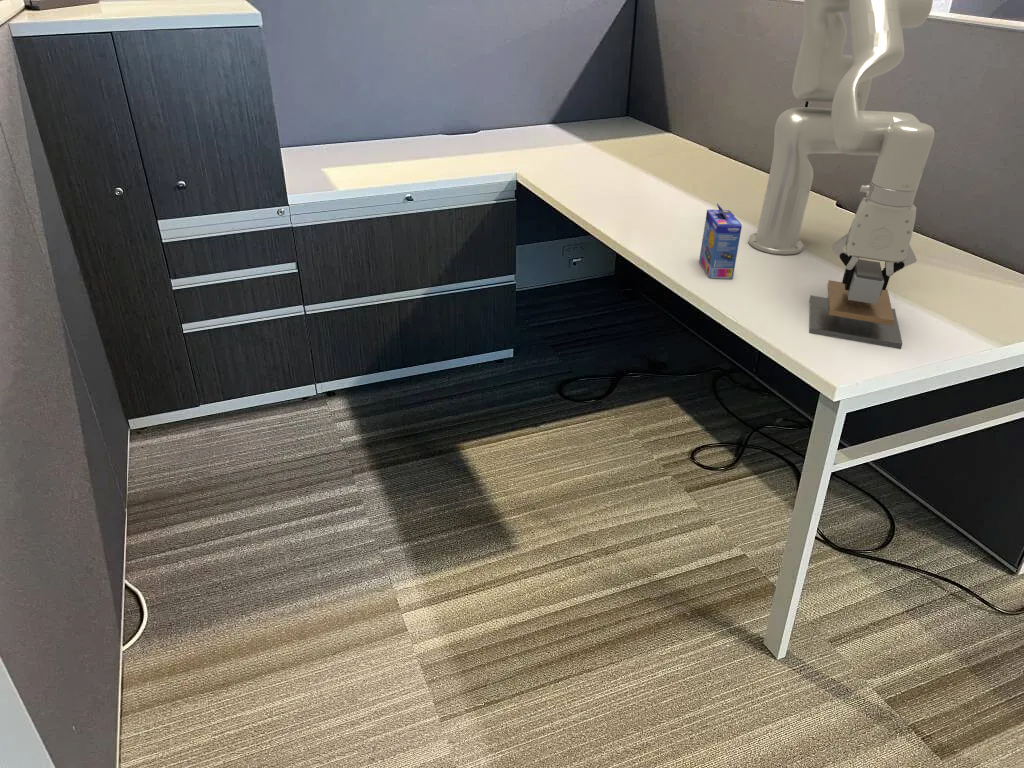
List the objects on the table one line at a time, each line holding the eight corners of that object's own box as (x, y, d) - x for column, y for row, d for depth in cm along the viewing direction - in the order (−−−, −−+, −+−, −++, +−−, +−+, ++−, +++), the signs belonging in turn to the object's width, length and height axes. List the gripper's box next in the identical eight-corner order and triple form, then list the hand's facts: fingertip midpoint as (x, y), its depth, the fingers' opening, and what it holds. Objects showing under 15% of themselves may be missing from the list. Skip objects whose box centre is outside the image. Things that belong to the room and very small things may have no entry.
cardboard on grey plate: (809, 299, 156) (815, 277, 153) (893, 313, 152) (901, 290, 149) (809, 332, 143) (815, 308, 140) (901, 348, 139) (909, 324, 136)
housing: (848, 299, 141) (855, 274, 139) (846, 281, 149) (853, 257, 146) (877, 304, 140) (885, 279, 137) (873, 286, 147) (881, 262, 145)
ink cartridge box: (696, 261, 172) (708, 198, 164) (720, 262, 172) (733, 199, 165) (707, 278, 163) (720, 213, 156) (733, 279, 164) (746, 214, 156)
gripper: (840, 194, 134) (815, 290, 143) (946, 208, 129) (912, 305, 139) (839, 183, 140) (815, 275, 149) (940, 196, 135) (908, 290, 145)
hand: (862, 289), depth 144 cm, fingers closed on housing, 4 cm apart
